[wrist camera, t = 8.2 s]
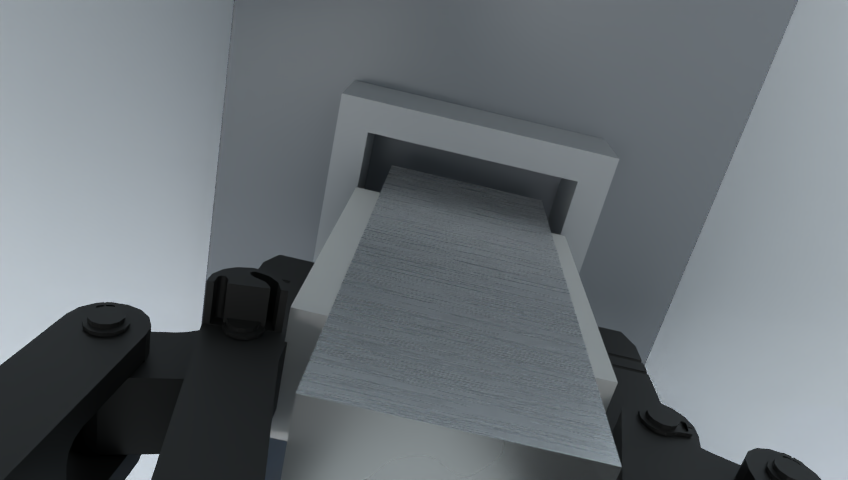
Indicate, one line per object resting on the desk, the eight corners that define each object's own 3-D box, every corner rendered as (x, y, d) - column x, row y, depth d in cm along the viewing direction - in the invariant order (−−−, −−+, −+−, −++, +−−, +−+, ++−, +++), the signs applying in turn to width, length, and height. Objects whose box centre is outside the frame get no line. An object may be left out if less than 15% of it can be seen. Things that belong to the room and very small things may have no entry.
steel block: (363, 298, 19) (255, 620, 9) (392, 164, 17) (296, 392, 8) (501, 330, 19) (529, 681, 9) (541, 200, 17) (621, 467, 8)
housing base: (297, -353, 16) (244, -450, 12) (850, -215, 16) (960, -268, 13) (199, 501, 27) (156, 587, 23) (532, 575, 27) (542, 671, 23)
